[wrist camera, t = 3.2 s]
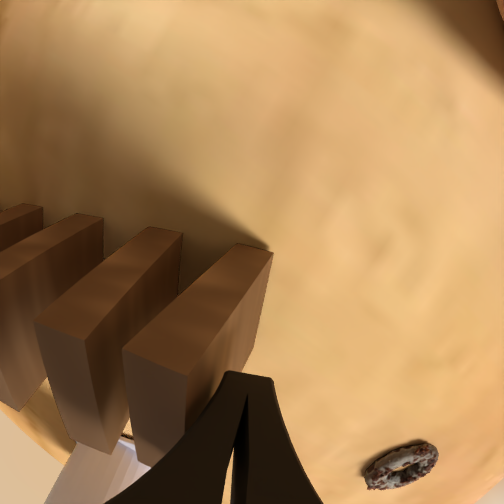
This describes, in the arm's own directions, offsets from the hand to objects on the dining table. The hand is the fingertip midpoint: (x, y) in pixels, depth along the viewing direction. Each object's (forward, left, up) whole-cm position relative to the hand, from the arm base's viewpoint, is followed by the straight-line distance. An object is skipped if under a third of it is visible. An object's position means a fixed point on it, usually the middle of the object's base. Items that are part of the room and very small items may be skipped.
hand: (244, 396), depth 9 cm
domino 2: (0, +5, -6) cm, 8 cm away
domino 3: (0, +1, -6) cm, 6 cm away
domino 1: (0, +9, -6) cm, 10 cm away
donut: (-13, -14, -7) cm, 20 cm away
